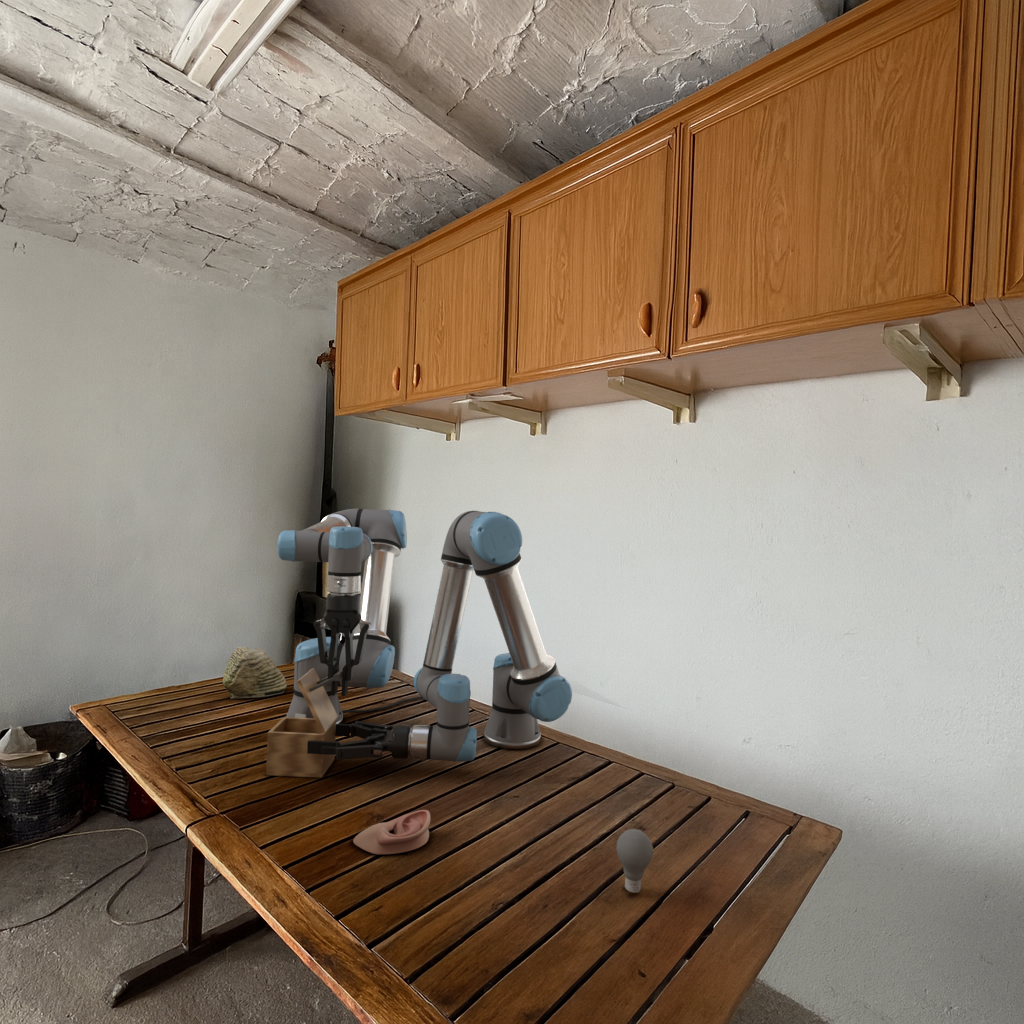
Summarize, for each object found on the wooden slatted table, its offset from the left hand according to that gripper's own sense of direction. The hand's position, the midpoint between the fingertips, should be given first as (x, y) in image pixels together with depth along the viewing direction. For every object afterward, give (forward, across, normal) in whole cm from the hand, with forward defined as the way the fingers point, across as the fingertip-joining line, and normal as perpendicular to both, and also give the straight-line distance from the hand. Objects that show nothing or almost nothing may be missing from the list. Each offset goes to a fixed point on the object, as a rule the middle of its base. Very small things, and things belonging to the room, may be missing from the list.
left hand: (339, 693), depth 147 cm
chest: (+18, -8, 0) cm, 19 cm away
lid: (+2, -5, 0) cm, 6 cm away
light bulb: (+18, +61, -42) cm, 76 cm away
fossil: (+18, -40, +50) cm, 66 cm away
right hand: (+11, -5, 0) cm, 12 cm away
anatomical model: (+18, +19, -29) cm, 39 cm away
